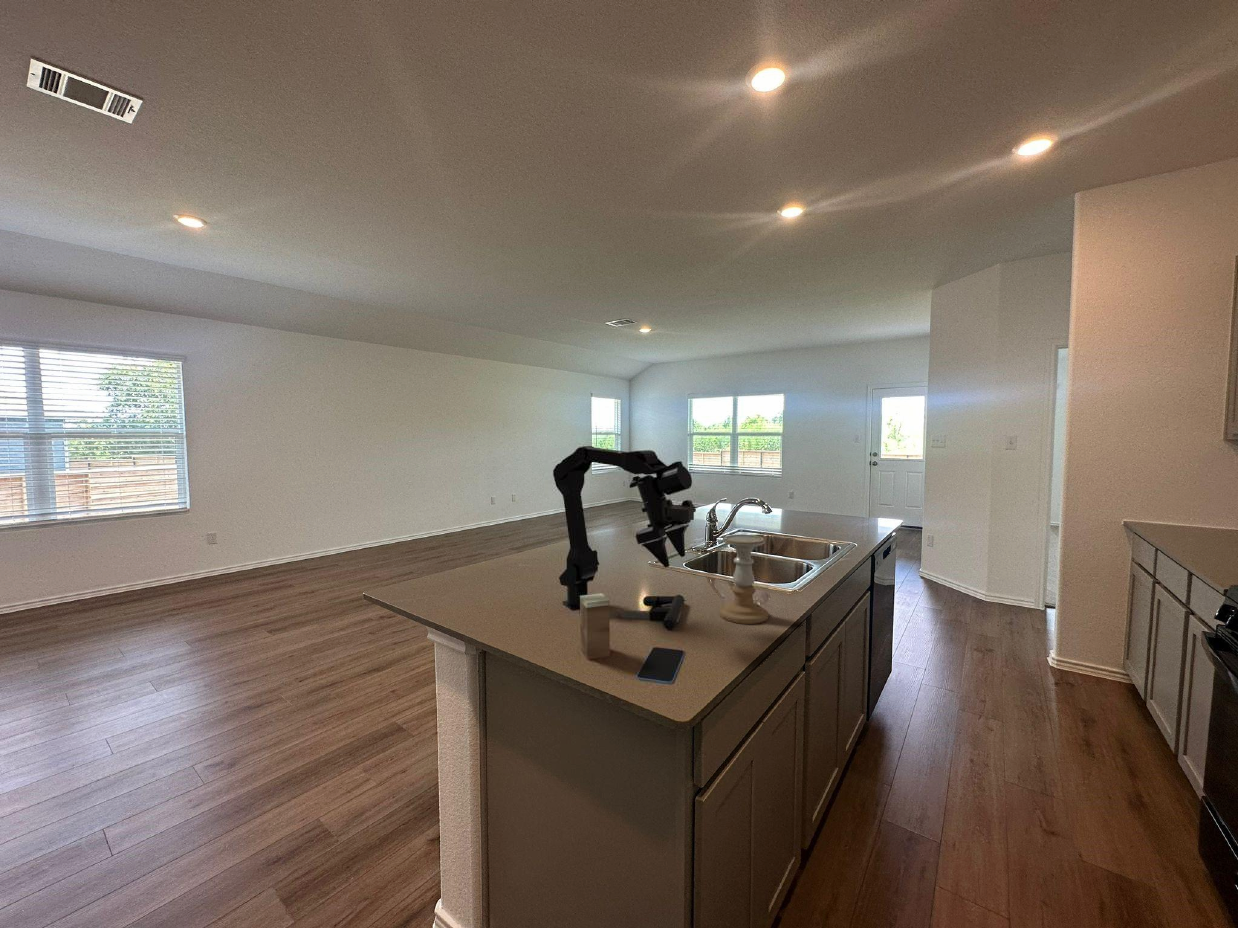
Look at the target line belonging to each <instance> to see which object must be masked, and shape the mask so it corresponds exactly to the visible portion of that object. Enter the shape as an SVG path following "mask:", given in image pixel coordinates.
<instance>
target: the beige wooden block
mask: <svg viewBox="0 0 1238 928" xmlns="http://www.w3.org/2000/svg"><path fill="white" fill-rule="evenodd" d="M579 611H580V613H579V614H580V615H579V616H580V617H579V619H580V622H579V624H580V629H579V630H580V651H581V652H582V655H584V657H585V658H586V660H592V659H593V660H594V659H598V658H599V659H600V658H605V657H611V643H610V642H611V640H610V639H611V637H610V636H611V635H610V631H611V627H610V617H611V616H610V599H609V598H608V597H606V595H605V594H604V593H602V592H601V593H593V594H592V593H591V594H588V595H583V596H580V608H579Z"/></svg>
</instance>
